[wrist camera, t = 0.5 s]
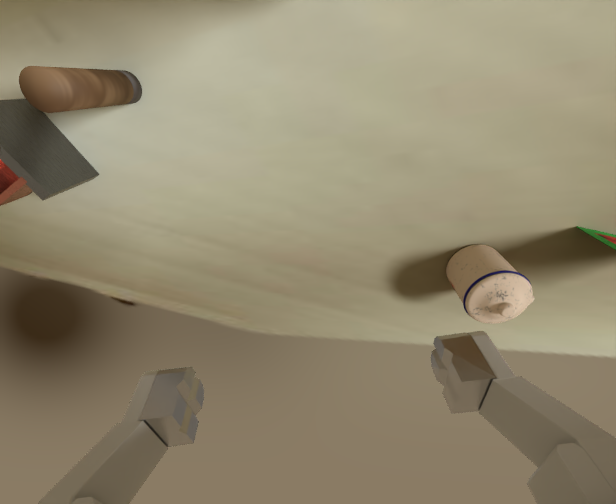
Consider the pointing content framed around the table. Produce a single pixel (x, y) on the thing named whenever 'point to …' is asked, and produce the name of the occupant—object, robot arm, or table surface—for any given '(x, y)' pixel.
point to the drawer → (36, 155)
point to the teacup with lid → (488, 284)
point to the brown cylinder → (77, 88)
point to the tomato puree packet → (602, 237)
